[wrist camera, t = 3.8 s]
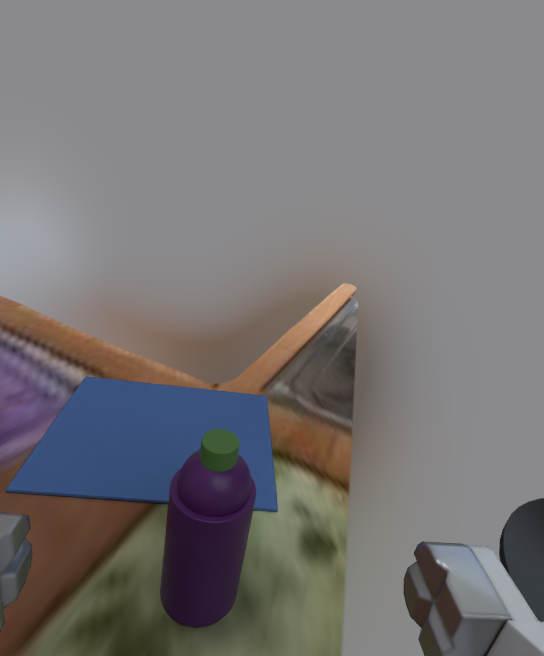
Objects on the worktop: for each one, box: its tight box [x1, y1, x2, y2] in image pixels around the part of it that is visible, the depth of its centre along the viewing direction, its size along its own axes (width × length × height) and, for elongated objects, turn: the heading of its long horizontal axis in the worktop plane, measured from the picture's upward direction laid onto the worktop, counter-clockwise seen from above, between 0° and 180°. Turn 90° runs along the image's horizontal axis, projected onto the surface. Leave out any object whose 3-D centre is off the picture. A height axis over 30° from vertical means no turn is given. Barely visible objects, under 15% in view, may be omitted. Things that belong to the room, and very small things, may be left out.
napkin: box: [6, 377, 278, 511], centre depth 42 cm, size 22×18×1 cm
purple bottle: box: [160, 429, 256, 627], centre depth 26 cm, size 5×5×12 cm
